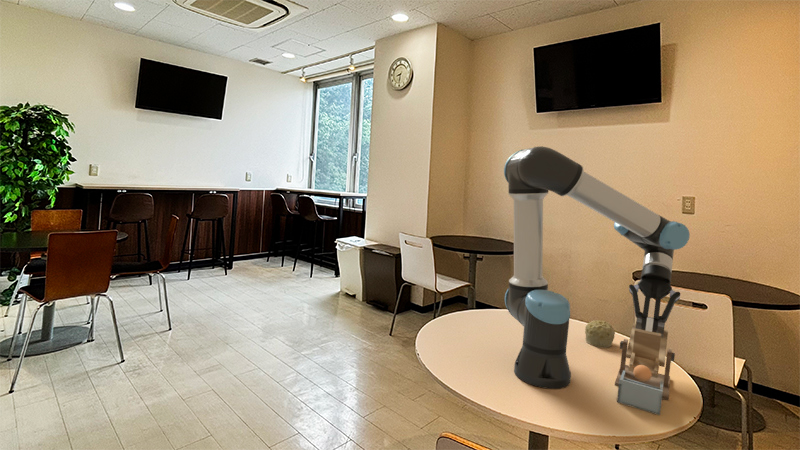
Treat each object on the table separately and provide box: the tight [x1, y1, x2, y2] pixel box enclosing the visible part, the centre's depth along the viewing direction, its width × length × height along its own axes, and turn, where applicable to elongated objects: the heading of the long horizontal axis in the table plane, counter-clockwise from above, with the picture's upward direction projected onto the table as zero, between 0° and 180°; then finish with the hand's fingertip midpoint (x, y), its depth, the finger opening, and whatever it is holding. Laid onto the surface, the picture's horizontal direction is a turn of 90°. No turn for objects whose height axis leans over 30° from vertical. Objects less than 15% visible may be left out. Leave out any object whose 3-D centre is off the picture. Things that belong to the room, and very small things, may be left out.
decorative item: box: [584, 319, 616, 349], centre depth 141 cm, size 10×10×10 cm
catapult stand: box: [614, 338, 676, 401], centre depth 112 cm, size 15×13×10 cm
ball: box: [633, 365, 652, 382], centre depth 103 cm, size 4×4×4 cm
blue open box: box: [616, 370, 663, 416], centre depth 102 cm, size 9×9×6 cm
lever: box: [626, 316, 669, 378], centre depth 112 cm, size 22×9×9 cm, turn 144°
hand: (647, 341), depth 109 cm, fingers closed
